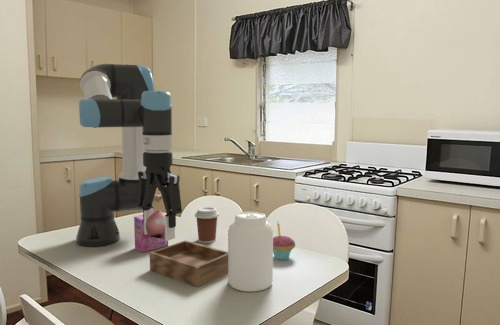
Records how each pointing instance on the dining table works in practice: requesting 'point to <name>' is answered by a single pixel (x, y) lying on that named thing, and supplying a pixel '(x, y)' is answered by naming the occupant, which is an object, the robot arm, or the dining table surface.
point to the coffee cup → (207, 224)
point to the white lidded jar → (250, 252)
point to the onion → (156, 225)
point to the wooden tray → (190, 262)
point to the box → (145, 237)
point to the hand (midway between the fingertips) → (159, 236)
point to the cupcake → (282, 246)
